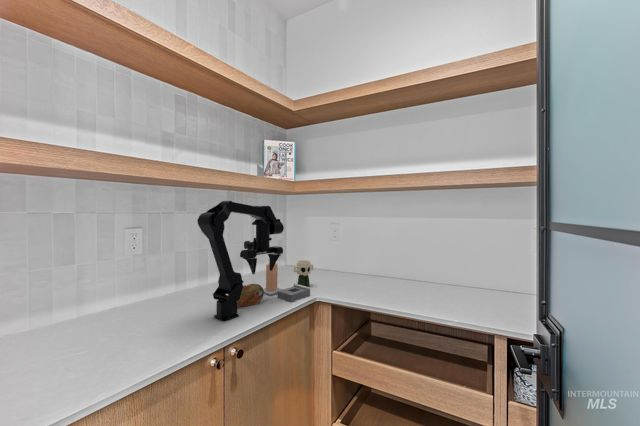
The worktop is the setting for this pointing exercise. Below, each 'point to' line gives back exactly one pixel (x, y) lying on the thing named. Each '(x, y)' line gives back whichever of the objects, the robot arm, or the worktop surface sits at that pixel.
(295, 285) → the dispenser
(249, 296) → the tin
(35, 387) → the worktop surface
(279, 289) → the mat
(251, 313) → the worktop surface
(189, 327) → the worktop surface
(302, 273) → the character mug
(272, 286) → the tan rectangular block
